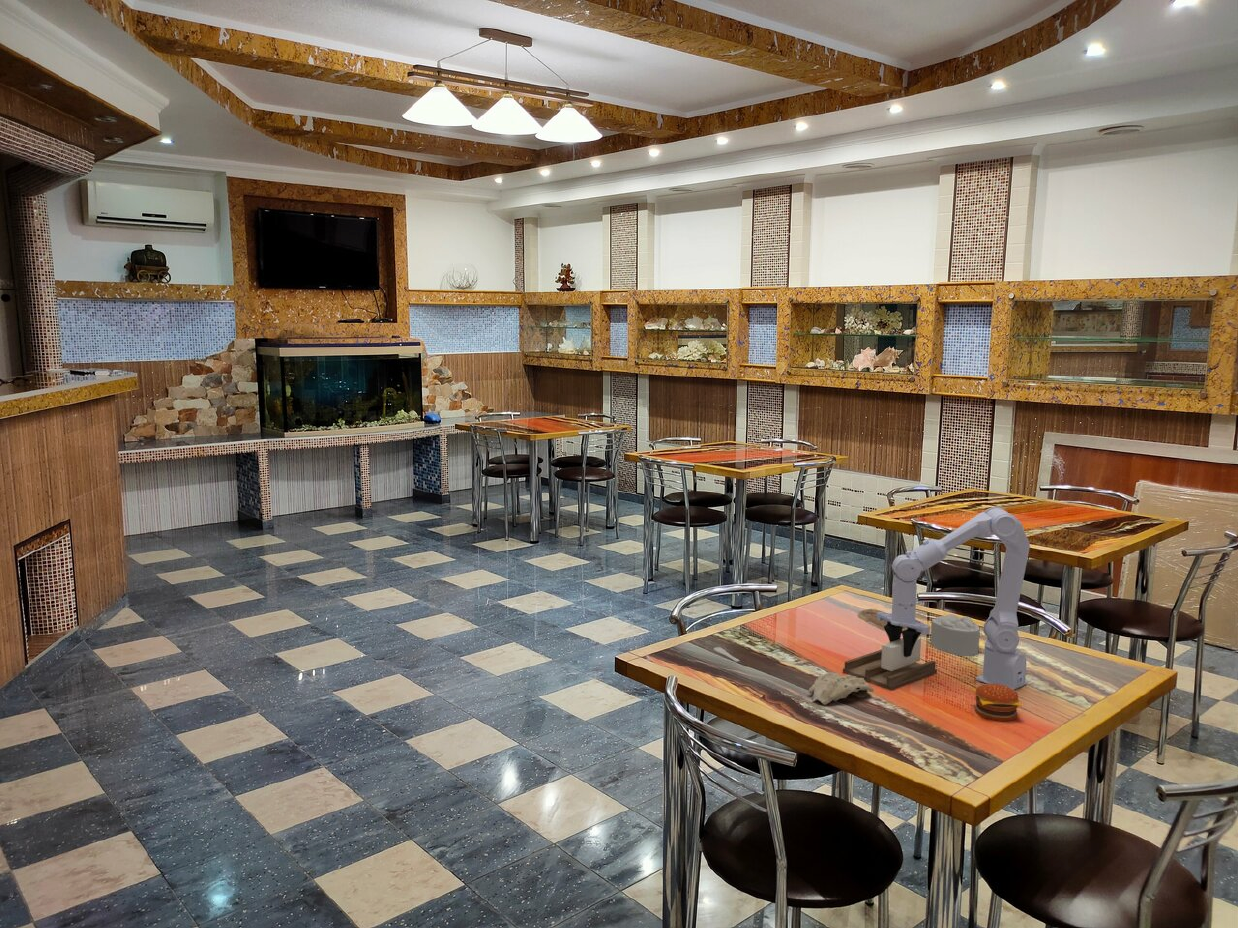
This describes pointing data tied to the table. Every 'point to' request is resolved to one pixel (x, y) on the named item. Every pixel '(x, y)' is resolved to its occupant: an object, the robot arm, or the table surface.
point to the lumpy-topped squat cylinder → (955, 635)
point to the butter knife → (725, 653)
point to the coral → (836, 687)
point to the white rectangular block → (898, 654)
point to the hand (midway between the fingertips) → (901, 654)
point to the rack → (887, 671)
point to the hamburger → (996, 702)
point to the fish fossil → (873, 618)
